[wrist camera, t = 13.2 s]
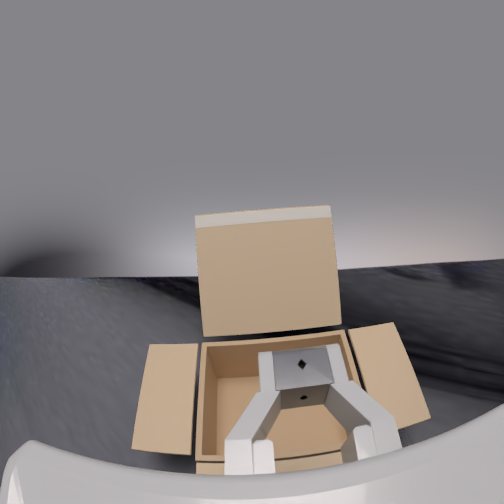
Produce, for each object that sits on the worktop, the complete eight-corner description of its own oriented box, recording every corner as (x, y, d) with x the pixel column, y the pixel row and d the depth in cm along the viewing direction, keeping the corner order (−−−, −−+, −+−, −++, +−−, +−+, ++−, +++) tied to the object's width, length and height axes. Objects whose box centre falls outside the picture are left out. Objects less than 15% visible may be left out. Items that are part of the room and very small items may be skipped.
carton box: (375, 358, 31) (391, 319, 27) (416, 511, 15) (454, 503, 11) (170, 377, 32) (150, 341, 27) (158, 539, 15) (124, 540, 11)
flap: (340, 323, 28) (328, 205, 29) (341, 324, 28) (329, 204, 29) (204, 336, 28) (195, 216, 29) (203, 336, 28) (194, 215, 29)
